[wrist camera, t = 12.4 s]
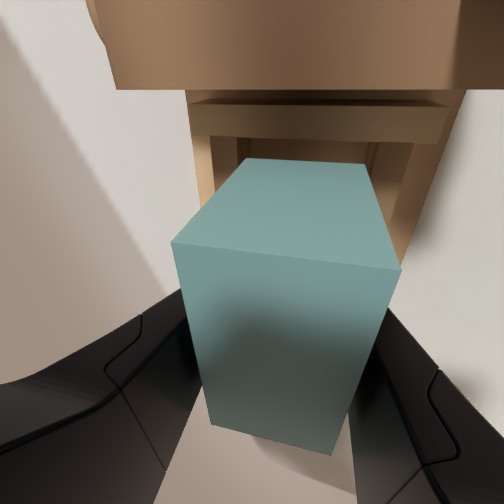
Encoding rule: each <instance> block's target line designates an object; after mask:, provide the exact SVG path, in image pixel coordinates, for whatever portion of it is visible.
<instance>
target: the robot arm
mask: <svg viewBox="0 0 504 504" xmlns="http://www.w3.org/2000/svg"><path fill="white" fill-rule="evenodd" d="M438 369H439V367H438V365H437V364H436V363H435V362H434V361H433V360H432V358H431V357H430V356H429V355H428V354H427V352H426V351H425V350H424V349H423V348H422V347H421V345H420V344H419V343H418V342H417V341H416V340H415V338H414V337H413V336H412V335H411V334H410V332H409V331H408V330H407V329H406V328H405V327H404V325H403V324H402V323H401V322H400V321H399V320H398V318H397V317H396V316H395V315H394V314H393V312H392V311H391V310H390V309H389V308H387V310H386V313H385V316H384V318H383V321H382V323H381V326H380V329H379V331H378V334H377V336H376V339H375V342H374V344H373V347H372V349H371V352H370V355H369V357H368V360H367V363H366V365H365V368H364V370H363V373H362V376H361V378H360V381H359V383H358V386H357V389H356V391H355V394H354V396H353V399H352V402H351V404H350V407H349V410H348V416H349V426H350V435H351V445H352V454H353V464H354V474H355V483H356V493H357V503H358V504H504V438H503V437H502V436H501V435H500V433H499V432H498V431H497V430H496V429H495V428H494V427H493V426H492V425H491V424H490V423H489V422H488V421H487V420H486V419H485V418H484V417H483V416H482V415H481V414H480V413H479V412H478V411H477V410H476V408H475V407H474V406H473V405H472V404H471V403H470V402H469V401H468V400H467V399H466V397H465V396H464V395H463V394H462V393H461V392H460V391H459V390H458V388H457V387H456V386H455V385H454V384H453V383H452V382H451V380H450V379H449V378H448V377H447V376H446V375H445V373H444V372H443V371H442V370H440V369H439V370H438ZM201 387H202V381H201V377H200V372H199V368H198V363H197V359H196V354H195V350H194V345H193V341H192V336H191V332H190V327H189V323H188V318H187V314H186V309H185V305H184V300H183V295H182V291H181V288H180V289H178V290H177V291H175V292H174V293H172V294H170V295H169V296H167V297H166V298H164V299H163V300H161V301H160V302H158V303H156V304H155V305H153V306H152V307H150V308H149V309H147V310H146V311H144V312H143V313H142V314H139V315H138V316H136V317H135V318H133V319H131V320H130V321H128V322H127V323H125V324H123V325H122V326H120V327H119V328H117V329H115V330H114V331H112V332H110V333H108V334H107V335H105V336H103V337H101V338H100V339H98V340H96V341H94V342H93V343H91V344H89V345H87V346H85V347H83V348H81V349H80V350H78V351H76V352H74V353H72V354H71V355H69V356H67V357H65V358H63V359H61V360H59V361H57V362H56V363H54V364H52V365H50V366H48V367H46V368H45V369H43V370H41V371H39V372H37V373H35V374H33V375H30V376H28V377H25V378H22V379H19V380H16V381H13V382H9V383H6V384H0V504H153V503H154V500H155V498H156V495H157V493H158V491H159V488H160V486H161V483H162V481H163V479H164V476H165V474H166V472H165V471H167V468H168V466H169V464H170V461H171V459H172V457H173V454H174V452H175V449H176V447H177V445H178V442H179V440H180V437H181V435H182V433H183V430H184V428H185V425H186V423H187V420H188V418H189V415H190V413H191V411H192V408H193V406H194V404H195V401H196V398H197V396H198V394H199V392H200V389H201Z"/></svg>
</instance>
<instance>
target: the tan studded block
mask: <svg viewBox="0 0 504 504" xmlns="http://www.w3.org/2000/svg"><path fill="white" fill-rule="evenodd" d="M86 5H87V8H88V11H89V14H90V17H91V20H92V22H93V25H94V27H95V29H96V31H97V33H98V35H99V37H100V39H101V40H102V42H103V43H104V45H105V47H106V51H107V55H108V59H109V62H110V66H111V70H112V74H113V78H114V82H115V86H116V90H468V89H504V0H86Z"/></svg>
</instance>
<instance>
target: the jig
mask: <svg viewBox="0 0 504 504" xmlns="http://www.w3.org/2000/svg"><path fill="white" fill-rule="evenodd" d="M465 92H466V90H185V93H186V101H187V108H188V116H189V123H190V131H191V138H192V146H193V153H194V161H195V168H196V176H197V183H198V190H199V198H200V205H201V208H202V207H203V206H204V205H205V203H206V202H207V201H208V200H209V199H210V198H211V197H212V196H213V195H214V193H215V192H216V191H217V190H218V189H219V188H220V187H221V186H222V185H223V183H224V182H225V181H226V180H227V179H228V178H229V177H230V176H231V175H232V173H233V172H234V171H235V170H236V169H237V168H238V167H239V166H240V165H241V163H242V162H243V161H244V160H245V159H246V158H255V159H275V160H295V161H314V162H334V163H354V164H365V167H366V169H367V172H368V175H369V178H370V181H371V184H372V187H373V189H374V192H375V195H376V198H377V201H378V204H379V207H380V210H381V212H382V215H383V218H384V221H385V224H386V227H387V230H388V232H389V235H390V238H391V241H392V244H393V247H394V250H395V253H396V255H397V258H398V261H399V264H400V265H401V263H402V260H403V257H404V255H405V252H406V249H407V247H408V244H409V241H410V239H411V236H412V233H413V231H414V228H415V225H416V223H417V220H418V217H419V215H420V212H421V209H422V207H423V204H424V201H425V199H426V196H427V193H428V191H429V188H430V185H431V183H432V180H433V177H434V175H435V172H436V169H437V167H438V164H439V162H440V159H441V156H442V154H443V151H444V148H445V146H446V143H447V140H448V138H449V135H450V132H451V130H452V127H453V124H454V122H455V119H456V116H457V114H458V111H459V108H460V106H461V103H462V100H463V98H464V95H465Z"/></svg>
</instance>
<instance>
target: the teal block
mask: <svg viewBox="0 0 504 504" xmlns="http://www.w3.org/2000/svg"><path fill="white" fill-rule="evenodd" d="M171 246H172V250H173V255H174V259H175V264H176V268H177V273H178V277H179V282H180V286H181V291H182V295H183V300H184V305H185V309H186V314H187V318H188V323H189V327H190V332H191V336H192V341H193V345H194V350H195V354H196V359H197V363H198V368H199V372H200V377H201V381H202V386H203V390H204V395H205V399H206V404H207V408H208V413H209V417H210V422H211V424H212V425H216V426H220V427H224V428H228V429H231V430H235V431H239V432H243V433H246V434H250V435H254V436H258V437H262V438H266V439H269V440H273V441H277V442H281V443H285V444H288V445H292V446H296V447H300V448H304V449H308V450H311V451H315V452H319V453H323V454H327V455H330V456H331V454H332V451H333V449H334V446H335V443H336V441H337V438H338V436H339V433H340V430H341V428H342V425H343V423H344V420H345V417H346V415H347V412H348V410H349V407H350V404H351V402H352V399H353V396H354V394H355V391H356V389H357V386H358V383H359V381H360V378H361V376H362V373H363V370H364V368H365V365H366V363H367V360H368V357H369V355H370V352H371V349H372V347H373V344H374V342H375V339H376V336H377V334H378V331H379V329H380V326H381V323H382V321H383V318H384V316H385V313H386V310H387V308H388V305H389V302H390V300H391V297H392V295H393V292H394V289H395V287H396V284H397V282H398V279H399V276H400V274H401V271H402V270H401V267H400V264H399V261H398V258H397V255H396V253H395V250H394V247H393V244H392V241H391V238H390V235H389V232H388V230H387V227H386V224H385V221H384V218H383V215H382V212H381V210H380V207H379V204H378V201H377V198H376V195H375V192H374V189H373V187H372V184H371V181H370V178H369V175H368V172H367V169H366V167H365V164H354V163H334V162H314V161H295V160H275V159H255V158H246V159H245V160H244V161H243V162H242V163H241V165H240V166H239V167H238V168H237V169H236V170H235V171H234V172H233V173H232V175H231V176H230V177H229V178H228V179H227V180H226V181H225V182H224V183H223V185H222V186H221V187H220V188H219V189H218V190H217V191H216V192H215V193H214V195H213V196H212V197H211V198H210V199H209V200H208V201H207V202H206V203H205V205H204V206H203V207H202V208H201V209H200V210H199V211H198V212H197V213H196V215H195V216H194V217H193V218H192V219H191V220H190V221H189V222H188V223H187V225H186V226H185V227H184V228H183V229H182V230H181V231H180V232H179V233H178V235H177V236H176V237H175V238H174V239H173V240H172V241H171Z"/></svg>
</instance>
